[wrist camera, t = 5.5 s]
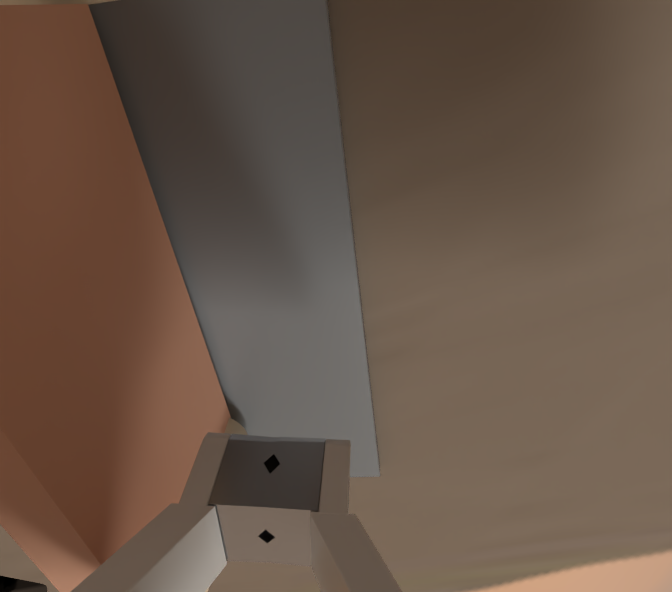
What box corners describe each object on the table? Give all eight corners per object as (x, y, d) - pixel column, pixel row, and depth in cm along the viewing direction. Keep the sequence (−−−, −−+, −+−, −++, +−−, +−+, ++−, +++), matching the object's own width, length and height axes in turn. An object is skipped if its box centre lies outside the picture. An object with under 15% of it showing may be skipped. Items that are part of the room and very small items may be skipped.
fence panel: (107, 0, 9) (-315, 1, 3) (255, 452, 15) (195, 692, 10) (9, 16, 9) (-529, 39, 4) (197, 455, 16) (108, 690, 10)
